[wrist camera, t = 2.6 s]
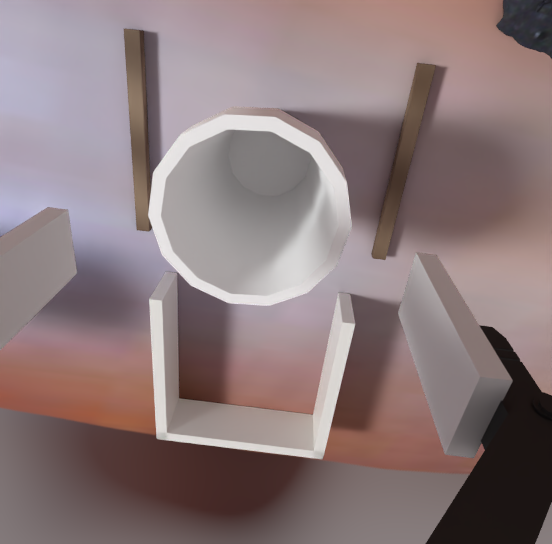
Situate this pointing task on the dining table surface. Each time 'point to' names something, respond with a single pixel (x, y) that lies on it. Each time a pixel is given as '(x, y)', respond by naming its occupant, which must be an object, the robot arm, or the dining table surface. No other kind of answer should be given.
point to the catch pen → (232, 418)
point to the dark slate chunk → (528, 23)
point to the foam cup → (251, 206)
